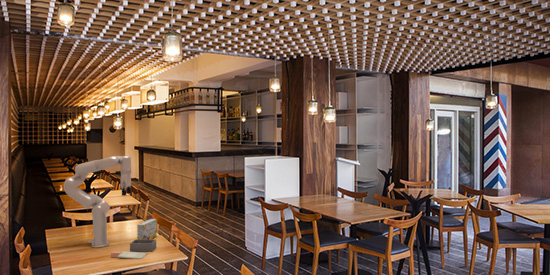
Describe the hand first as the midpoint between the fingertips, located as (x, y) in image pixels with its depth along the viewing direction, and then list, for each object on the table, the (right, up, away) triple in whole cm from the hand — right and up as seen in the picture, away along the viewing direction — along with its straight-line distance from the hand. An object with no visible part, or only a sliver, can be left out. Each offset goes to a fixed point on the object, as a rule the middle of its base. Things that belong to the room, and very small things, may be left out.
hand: (126, 194), depth 304 cm
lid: (+12, -39, -29) cm, 50 cm away
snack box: (+13, -38, +11) cm, 42 cm away
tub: (+18, -38, -14) cm, 45 cm away
